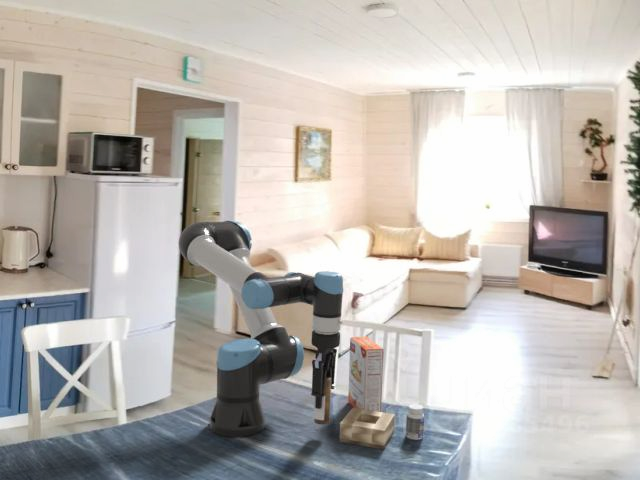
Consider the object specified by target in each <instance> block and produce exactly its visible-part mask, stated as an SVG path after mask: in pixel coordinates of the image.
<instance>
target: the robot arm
mask: <svg viewBox="0 0 640 480" xmlns="http://www.w3.org/2000/svg"><path fill="white" fill-rule="evenodd" d="M251 236H252V235H251V232H250V230H249V229H248V227H246V226H245V224H243V223H242V222H239V221H232V220H224V221H197V222H193V223H191V224H189V225H188V226H186V227H185V228H184V229H183V231H182V232H181V234H180V236H179V239H178V249H179V252H180V254H181V255H182V257H183V258H184V259H185V260H186V261H188V263H190V264H192V265H193V266H196V267H197V266H199V267H200V266H201V267H203V268H204V269H205V270H207V271H208V272H209V273H211V274H213V275H214V276H216V277H217V278H218V279H220V280H222V282H224V283H225V284H227V285H228V286H229V288H230V291H231V293H232V295H233V297H234V299H235V303H236V304H237V306H238V309H239V311H240V313H241V316H242V318H243V321H244V324H245V325H246V328H247V330H248V333H249V335H250V338H242V339H241V338H238V339H237V338H236V339H232V340H229V341H227V342H225V343H223V344H222V345H221V346H220V347H219V348H218V351H217V360H216V401H215V403H214V406H213V409H212V412H211V415H210V418H209V428H210V430H211V432H213V433H215V434H216V435H219V436H223V437H227V438H229V437H230V438H244V437H248V436H249V437H250V436H253V435H255V434H258V433H261V431H263V430H264V429H265V427H266V416H265V413H264V410H263V407H262V404H261V401H260V386H261V385H265V384H269V383H272V382H277V381H280V380H286V379H288V378H289V377H293V376H295V375H297V374H298V373H299V372H300V371H301V370H302V367H303V364H304V359H305V352H304V347H303V346H304V345H303V344H302V342H301V340H300V339H299V338H298V337H296V336H295V335H289V334H288V332H287V330H286V328H285V326H283V325H282V324H281V325H280V324H278V322H277V320H276V318H275V316H274V313H273V311H272V309H271V308H273V307H278V306H284V305H285V306H287V305H291V304H296V303H297V304H298V303H302V304H303V303H304V304H306V305H311V306H312V319H311V320H312V321H311V322H312V323H311V328H312V331H311V341H310V342H311V345H312V346H313V347H315V348H316V349H317V350H316V353H315V359H312V361H311V367H312V377H311V378H312V380H311V381H312V382H311V394H310V395H311V396H313V397H314V402H313V403H314V405H313V420H314V419H318V420H324V414H325V396H324V391H325V382H326V376H328V377H330V378H331V390H335V386H334V384H335V374H336V358H337V353H338V349H337V348H338V347H339V346H340V344H341V332H340V331H341V328H342V327H341V325H342V324H343V323H344V322H343V321H344V320H343V319H342V308H343V294H344V281H343V279H344V277H343V275H342V274H341V273H339V272H336V271H329V270H328V271H325V270H324V271H318V272H316V273H315V274H314V275H313V276H312V275H309V274H304V273H302V272H295V271H294V272H287V273H286V274H285V275H283V276H276V277H275V276H274V277H270V276H268V275H266V274H264V273H263V272H261V271H259V270H257V269H256V268H254V267H253V266H252V265H251V263H250V261H249V258H250V256H251V250H252V246H253V245H252V244H253V242H251V241H252V237H251ZM331 394H332V393H331ZM331 394H330V402H331V399H332V398H331V397H332V396H331Z"/></svg>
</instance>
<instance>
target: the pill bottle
mask: <svg viewBox="0 0 640 480" xmlns="http://www.w3.org/2000/svg"><path fill="white" fill-rule="evenodd" d="M405 422H406V424H405V436H406V438H407V439H409V440H414V441H418V440H422V439H423V438H424V431H425V430H424V429H425V427H424V426H425V414H424V406H423V405H422V404H417V403H411V404H409V405H408V411H407V413H406V421H405Z"/></svg>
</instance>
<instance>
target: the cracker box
mask: <svg viewBox="0 0 640 480" xmlns="http://www.w3.org/2000/svg"><path fill="white" fill-rule="evenodd" d="M384 352H385V351H384V348H382V346H380V345H378V344H377V343H376V342H374V341H373V340H372V339H370V338H369V337H368V336H352V337H350V338H349V365H348V367H349V368H348V395H347V396H348V397H347V398H348V403H349V404H350V405H351V407H352V408H359V409H365V410H371V411H378V412H382V399H383V374H384V373H383V372H384V371H383V370H384Z"/></svg>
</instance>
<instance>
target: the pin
mask: <svg viewBox="0 0 640 480" xmlns="http://www.w3.org/2000/svg"><path fill="white" fill-rule="evenodd" d="M330 394H332V389H331V378H330V377H328V376H326V382H325V391H324V396H325V414H324V420H318V419H314V418H313V422H314V423H315V424H317V425H320V426H321V425H323V426H324V425H328V424H329V423H330V413H331V401H330Z"/></svg>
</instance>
